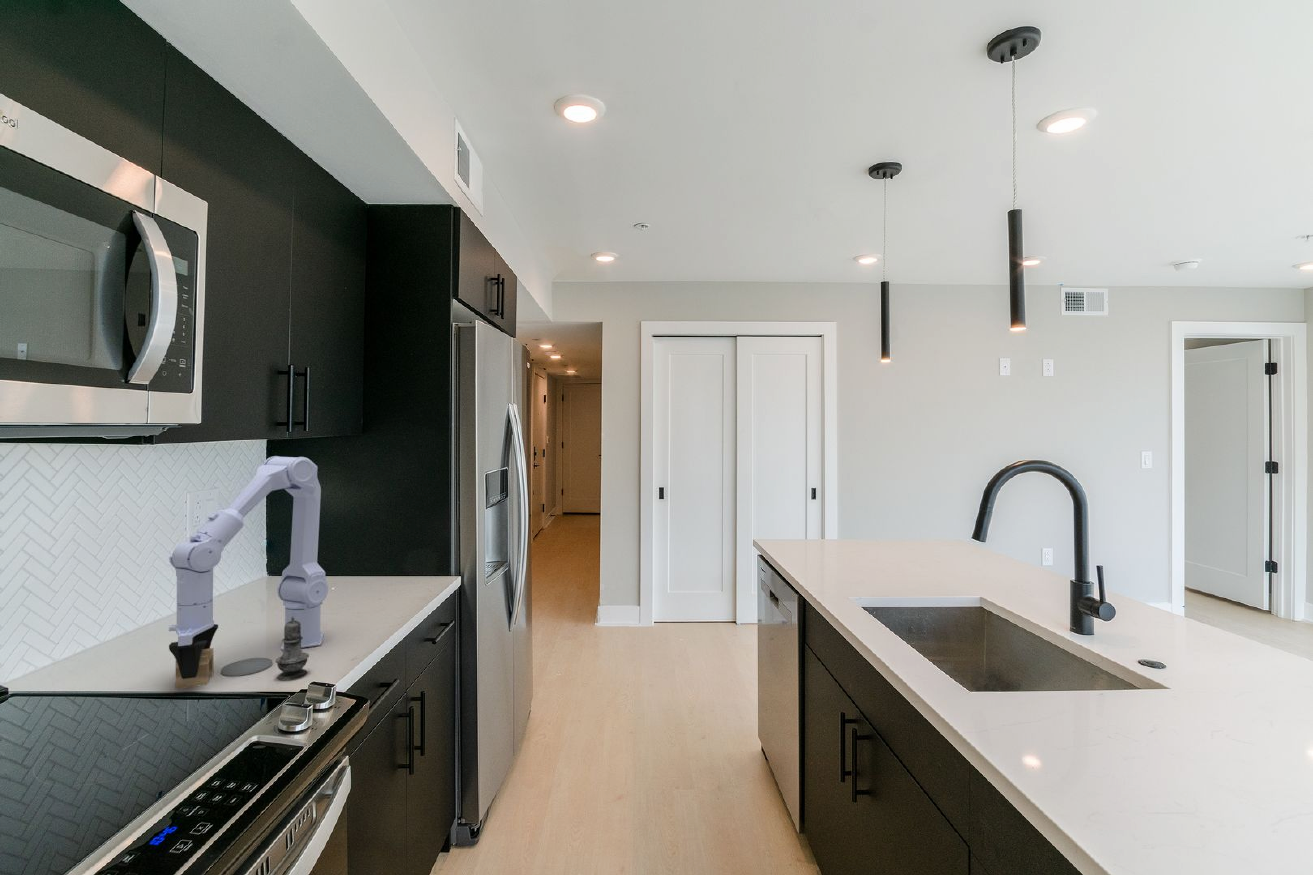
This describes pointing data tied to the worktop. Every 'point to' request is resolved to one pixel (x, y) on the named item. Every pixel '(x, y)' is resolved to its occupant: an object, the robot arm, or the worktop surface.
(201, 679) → the slotted wooden block
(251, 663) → the pad
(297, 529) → the robot arm
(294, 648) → the dark grey stone ornament
